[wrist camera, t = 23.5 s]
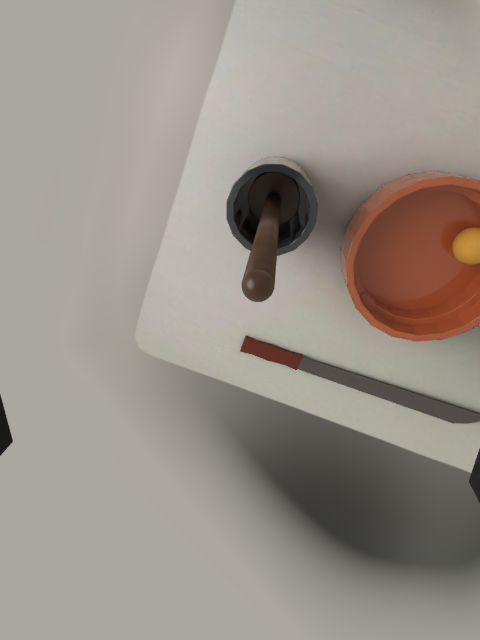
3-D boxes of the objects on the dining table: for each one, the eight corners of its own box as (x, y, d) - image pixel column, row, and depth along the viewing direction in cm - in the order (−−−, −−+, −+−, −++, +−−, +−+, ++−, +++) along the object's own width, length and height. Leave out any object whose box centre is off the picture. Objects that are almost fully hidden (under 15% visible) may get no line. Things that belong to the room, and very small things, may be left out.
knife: (478, 429, 58) (480, 432, 58) (240, 350, 57) (239, 352, 56) (489, 415, 57) (491, 418, 57) (246, 334, 56) (245, 336, 55)
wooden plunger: (239, 189, 47) (175, 274, 20) (282, 158, 45) (274, 207, 18) (267, 230, 49) (242, 361, 22) (308, 202, 47) (339, 308, 20)
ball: (503, 231, 45) (469, 214, 45) (503, 250, 42) (467, 232, 43) (477, 257, 48) (445, 241, 48) (476, 277, 45) (443, 260, 46)
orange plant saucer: (309, 245, 50) (312, 260, 45) (440, 134, 44) (461, 135, 38) (398, 344, 54) (410, 368, 49) (529, 255, 48) (559, 271, 42)
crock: (222, 194, 49) (208, 209, 40) (277, 139, 46) (274, 142, 37) (271, 246, 51) (268, 272, 42) (326, 197, 48) (335, 214, 38)
